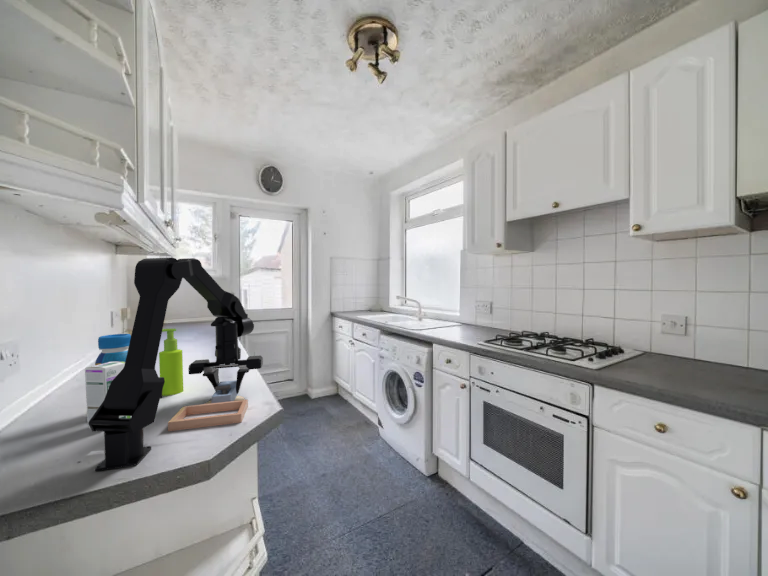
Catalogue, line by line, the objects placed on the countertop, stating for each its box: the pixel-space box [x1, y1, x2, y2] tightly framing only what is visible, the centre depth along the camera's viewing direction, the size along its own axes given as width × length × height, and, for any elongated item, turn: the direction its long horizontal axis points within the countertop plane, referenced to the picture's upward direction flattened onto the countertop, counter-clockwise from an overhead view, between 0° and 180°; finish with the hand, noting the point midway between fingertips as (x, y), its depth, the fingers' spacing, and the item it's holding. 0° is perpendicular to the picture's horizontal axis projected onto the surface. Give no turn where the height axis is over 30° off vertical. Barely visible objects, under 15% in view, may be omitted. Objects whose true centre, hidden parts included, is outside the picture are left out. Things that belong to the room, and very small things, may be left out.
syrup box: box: [84, 361, 132, 430], centre depth 77 cm, size 6×6×14 cm
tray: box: [167, 399, 249, 432], centre depth 78 cm, size 10×15×2 cm, turn 105°
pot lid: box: [204, 385, 246, 404], centre depth 89 cm, size 10×10×5 cm
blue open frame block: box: [211, 379, 239, 403], centre depth 90 cm, size 10×5×4 cm, turn 15°
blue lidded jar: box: [94, 333, 131, 366], centre depth 86 cm, size 8×8×20 cm
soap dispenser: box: [158, 328, 184, 397], centre depth 98 cm, size 6×7×20 cm
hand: (228, 394), depth 94 cm, fingers closed on blue open frame block, 5 cm apart
